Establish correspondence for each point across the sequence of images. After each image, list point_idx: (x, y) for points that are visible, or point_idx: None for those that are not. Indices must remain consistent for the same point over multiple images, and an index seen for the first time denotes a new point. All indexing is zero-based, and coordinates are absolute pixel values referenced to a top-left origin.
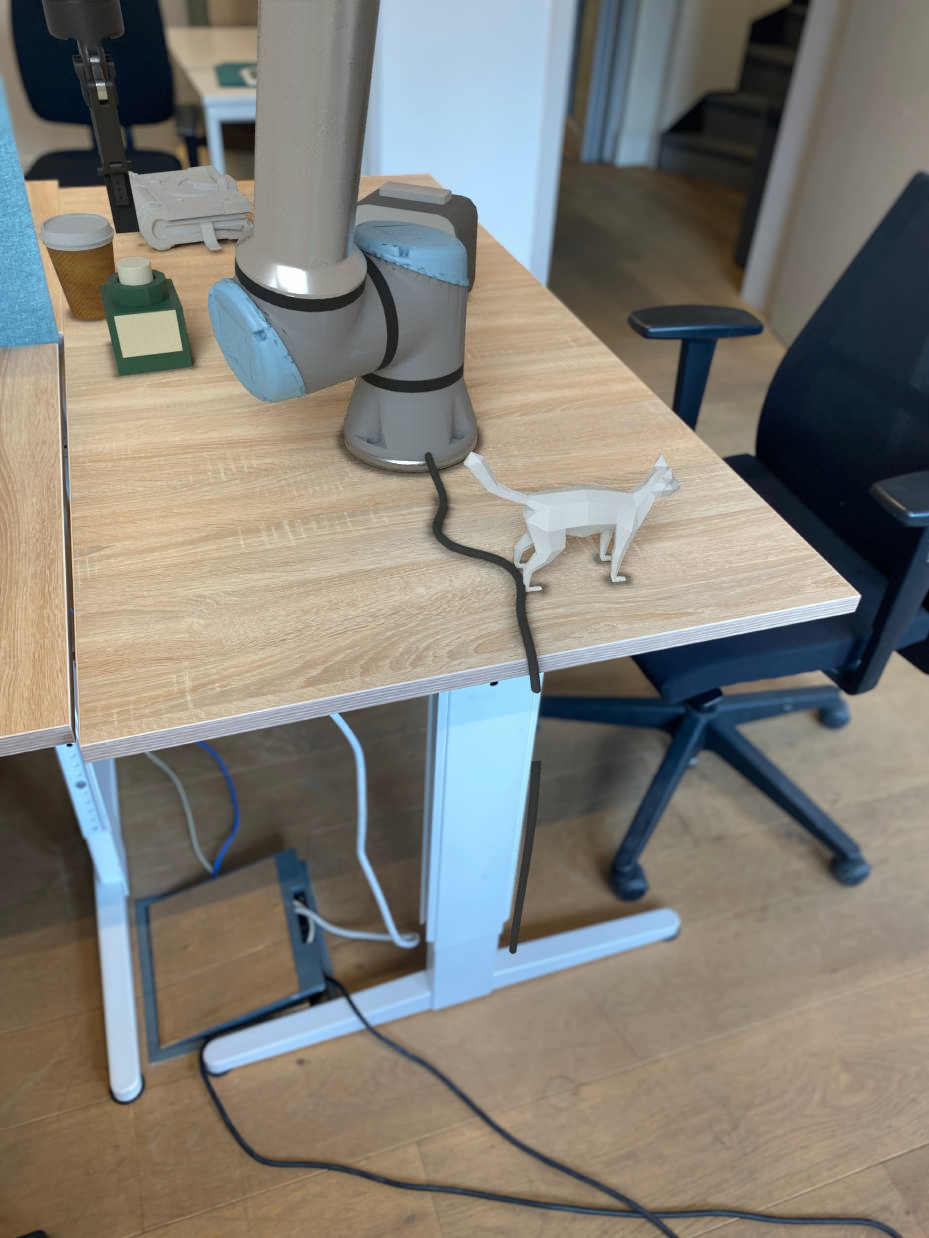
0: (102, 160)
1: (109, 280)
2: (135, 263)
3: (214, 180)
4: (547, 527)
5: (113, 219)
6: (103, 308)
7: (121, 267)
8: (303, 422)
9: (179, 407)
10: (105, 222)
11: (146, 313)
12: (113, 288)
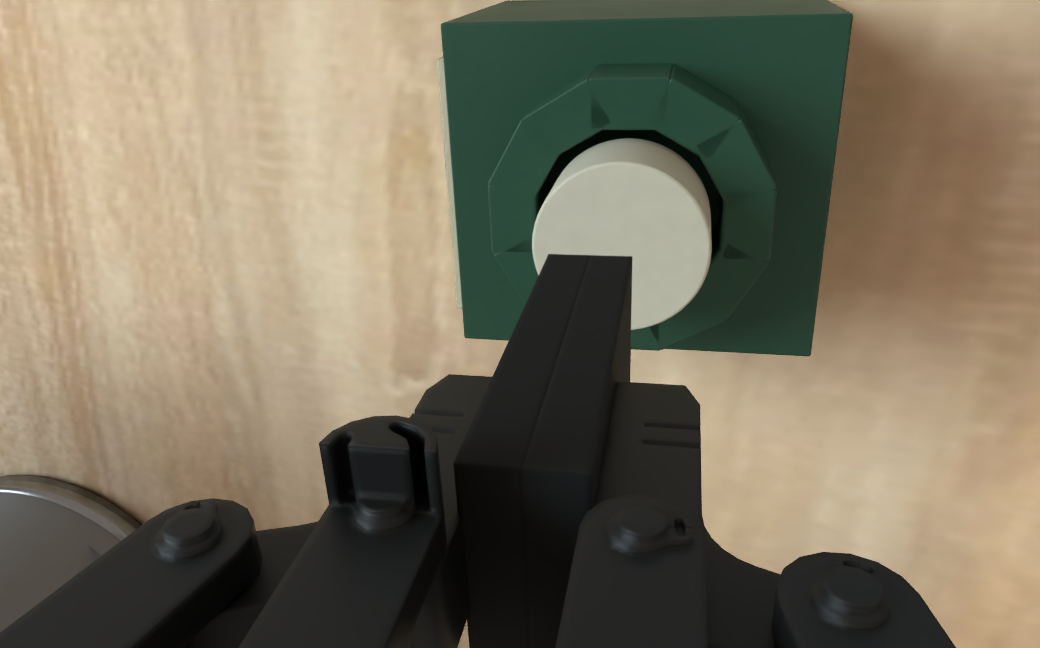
0: (346, 570)
1: (633, 91)
2: None
3: None
4: None
5: (534, 290)
6: None
7: (562, 184)
8: (153, 432)
9: (256, 166)
10: None
11: (449, 197)
12: (550, 99)
